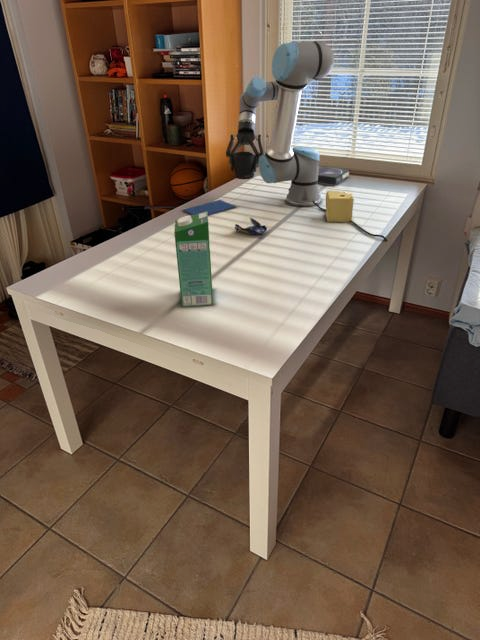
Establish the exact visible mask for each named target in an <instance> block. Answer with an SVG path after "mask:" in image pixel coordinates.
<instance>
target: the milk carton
mask: <svg viewBox="0 0 480 640" xmlns="http://www.w3.org/2000/svg"><path fill="white" fill-rule="evenodd" d="M209 226H210V225H209V215H208V212H207V211H206V212H202V213H199V214H196V215H185V216H182V217H180V218H178V219H176V220H175V222H174V231H173V233H174V234H173V235H174V243H175V253H176V262H177V272H178V282H179V292H180V301H181V307H196V306H197V307H198V306H199V307H200V306H212V305H214V294H213V293H214V292H213V277H212V260H211V243H210V229H209Z"/></svg>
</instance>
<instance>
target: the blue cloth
mask: <svg viewBox="0 0 480 640" xmlns="http://www.w3.org/2000/svg"><path fill="white" fill-rule="evenodd" d="M235 208H237V206H236V205H234V204H231V203H228V202H226V201H223V200H221V199H218V200H215V201H210V202H207V203H204V204H199V205H196V206H191V207H188V208H185V209H182V211H183V212H185V213H187V214H189V215H190V216H192V215H196V214H199V213H202V212H206V211H207V212H208V216H210V215H215V214H218V213H222V212H225V211H229V210H232V209H235Z"/></svg>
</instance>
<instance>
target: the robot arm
mask: <svg viewBox="0 0 480 640" xmlns="http://www.w3.org/2000/svg"><path fill="white" fill-rule="evenodd" d="M334 65H335V54H334V51H333V50H332V48H331V46H329V45H328V44H327V43H325V42H323V41H300V42H299V41H298V42H297V41H295V42H294V41H290V42H284V43H281V44H280V45H278V47H276V49H275V51H274V53H273V56H272V60H271V73H272V77H273V78H274V81H265V79H263V78H262V77H259V76H255V77H252V78H251V80H250V81H249V83H248V84H247V86H246V88H245V91H244V92H242V93H241V95H240V99H239V111H238V112H239V113H238V125H237V133H236V135H233V134H230V137H229V138H230V140H229V142H228V145H227V148H226V151H225V157H227V158H228V162H229V165H230V170H231V172H232V173H234V172H235V171H234V157H233V155H234V153H237V152H239V149H240V148H241V147H242V146H245V145H246V146H250V148H251V150H252V151H253V154H254V155H255V159H254V173H257V165H258V168H259V169H258V170H259V174H260V176H261V178H262V180H263V181H264V182H265V183H266V184H277V183H283V182H288V181H290V186H289V188H288V191H287V192H288V193H287V195H286V203H287V204H289V205H291V206H296V207H313V206H316V207H317V208H318V209H320V210H321V211H322V212H326V208H323V207H321V206H320V205H319V204H320V203H321V202H322V201H321V200H322V199H321V198H322V197H321V194H320V189H319V185H318V184H319V183H318V170H319V166H320V152H319V150H317V149H315V148H313V147H307V146H294V147H292V144H293V139H294V133H295V128H296V124H297V123H296V122H297V118H298V111H299V107H300V101H301V96H302V91H303V90H305V89H307V87H308V84H311V82H313V81H319V80H322V79H324V78H325V77H327V76H328V75H329V74H330V73H331V72H332V70H333V68H334ZM269 101H276V105H275V110H274V111H275V112H274V116H273V117H274V118H273V124H272V130H271V131H272V132H271V137H270V144H269V145H268V146H266V148H265V153H264V149H263V145H262V144H263V143H262V135H261V134H258V135H256V133H255V131H256V118H257V117H256V116H257V115H256V114H257V108H258V107H259V105H260V102H269ZM236 140H237V141H236ZM254 140H256V141H257V145H258V149H259V151H258V149H257V146H256V144H255V143H254ZM235 141H236V143H235ZM234 143H235V145H234ZM349 223H351V224H352V225H354V226H355V227H357V229H359V230H361V231H362V232H363V233H365V234H367V235H368V236H371V237H379V238H382V239H383V240H384V241H385V242H388V239H387V237H386V236H384V235H382V234H374V233H371V232H369V231H367V230H366V229H364V228H363V227H362V226H359V224H357V223H356V222H354V221H353V220H350V222H349Z"/></svg>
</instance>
